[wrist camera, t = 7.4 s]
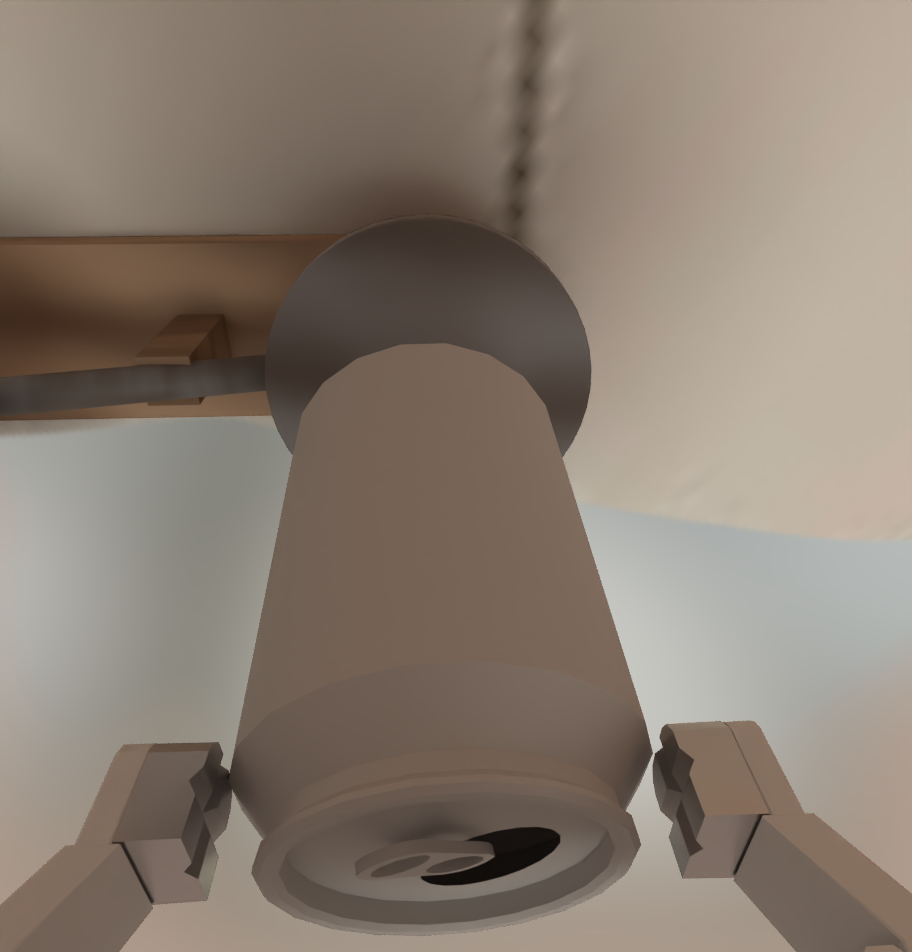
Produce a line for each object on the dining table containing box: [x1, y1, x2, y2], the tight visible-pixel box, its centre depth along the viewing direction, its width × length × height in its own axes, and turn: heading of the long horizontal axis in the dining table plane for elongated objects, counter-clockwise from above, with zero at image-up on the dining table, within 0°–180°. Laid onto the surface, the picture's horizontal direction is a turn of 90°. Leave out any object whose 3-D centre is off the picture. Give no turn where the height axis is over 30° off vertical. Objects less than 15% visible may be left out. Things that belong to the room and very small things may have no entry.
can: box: [228, 343, 653, 936], centre depth 15 cm, size 8×8×12 cm
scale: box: [0, 214, 591, 457], centre depth 24 cm, size 12×32×15 cm, turn 90°
